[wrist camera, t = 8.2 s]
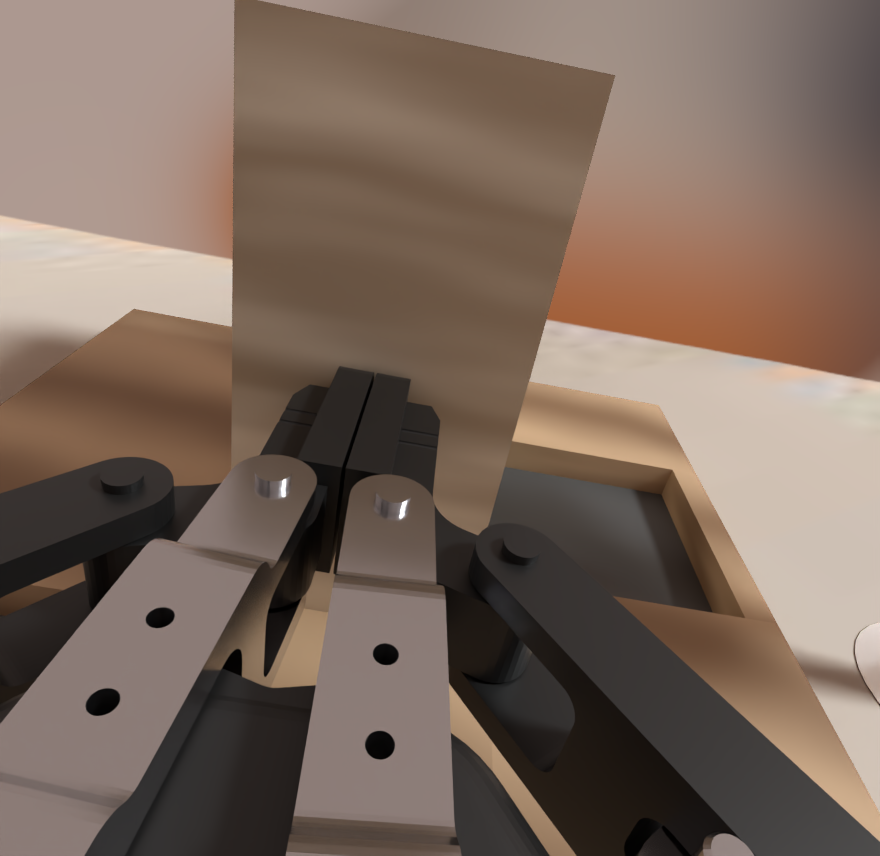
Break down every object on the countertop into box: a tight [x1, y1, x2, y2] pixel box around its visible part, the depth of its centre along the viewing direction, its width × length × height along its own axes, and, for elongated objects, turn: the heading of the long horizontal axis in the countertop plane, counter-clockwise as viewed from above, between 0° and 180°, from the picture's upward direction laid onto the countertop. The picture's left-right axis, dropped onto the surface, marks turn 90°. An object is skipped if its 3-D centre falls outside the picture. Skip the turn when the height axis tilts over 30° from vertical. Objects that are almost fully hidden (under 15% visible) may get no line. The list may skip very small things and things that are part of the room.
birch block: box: [231, 0, 615, 612], centre depth 19 cm, size 14×6×13 cm, turn 177°
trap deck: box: [0, 309, 880, 856], centre depth 17 cm, size 32×26×2 cm
